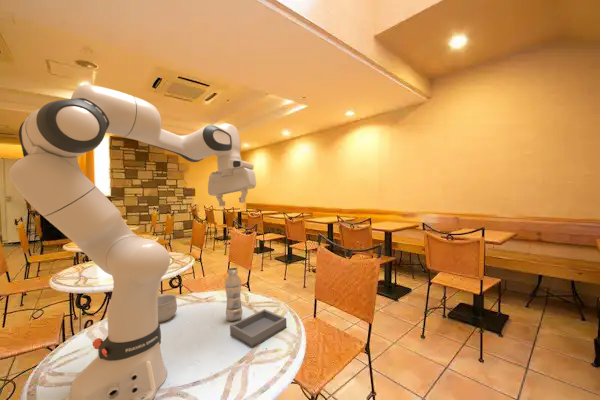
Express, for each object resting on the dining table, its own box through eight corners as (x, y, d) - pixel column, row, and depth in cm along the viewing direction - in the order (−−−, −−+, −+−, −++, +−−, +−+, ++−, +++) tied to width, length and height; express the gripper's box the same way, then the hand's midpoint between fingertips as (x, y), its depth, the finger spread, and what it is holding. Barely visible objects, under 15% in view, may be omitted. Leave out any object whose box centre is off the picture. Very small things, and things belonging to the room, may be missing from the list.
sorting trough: (252, 348, 82) (251, 337, 82) (230, 335, 89) (230, 325, 89) (286, 327, 94) (286, 318, 94) (264, 317, 102) (264, 309, 101)
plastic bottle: (244, 315, 104) (243, 266, 104) (239, 323, 98) (237, 271, 97) (229, 314, 105) (228, 266, 104) (223, 323, 98) (221, 271, 98)
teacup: (174, 323, 99) (173, 302, 99) (142, 327, 96) (141, 306, 96) (180, 307, 113) (180, 289, 112) (153, 311, 110) (152, 293, 110)
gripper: (203, 171, 97) (204, 207, 95) (246, 160, 88) (249, 199, 86) (215, 174, 102) (216, 208, 100) (257, 164, 94) (259, 201, 92)
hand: (232, 204), depth 93 cm, fingers open, 8 cm apart
